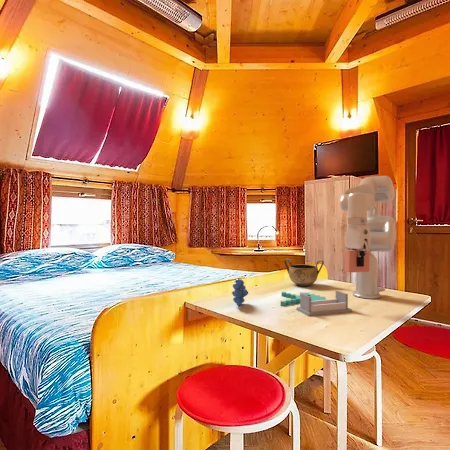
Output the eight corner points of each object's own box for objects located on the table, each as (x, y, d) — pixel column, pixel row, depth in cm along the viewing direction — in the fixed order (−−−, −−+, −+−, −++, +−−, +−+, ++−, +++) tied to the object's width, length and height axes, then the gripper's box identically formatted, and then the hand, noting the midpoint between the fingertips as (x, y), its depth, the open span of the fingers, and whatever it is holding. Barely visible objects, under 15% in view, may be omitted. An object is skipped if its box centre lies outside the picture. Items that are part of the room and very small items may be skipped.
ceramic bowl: (325, 284, 184) (325, 258, 184) (321, 289, 168) (321, 261, 168) (287, 281, 193) (287, 256, 193) (280, 286, 178) (280, 259, 178)
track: (337, 306, 137) (337, 289, 136) (351, 311, 128) (351, 294, 128) (296, 309, 131) (296, 293, 131) (308, 316, 122) (308, 298, 122)
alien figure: (280, 307, 137) (328, 309, 133) (280, 301, 137) (328, 304, 133) (281, 296, 157) (323, 298, 153) (281, 291, 157) (323, 293, 153)
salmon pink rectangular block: (364, 270, 136) (364, 249, 135) (369, 271, 133) (369, 250, 133) (344, 271, 133) (344, 250, 132) (349, 272, 130) (349, 250, 130)
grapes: (243, 310, 130) (243, 281, 130) (228, 308, 133) (228, 280, 133) (252, 303, 141) (252, 276, 141) (238, 301, 144) (238, 275, 144)
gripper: (379, 222, 126) (379, 268, 126) (351, 222, 141) (351, 263, 142) (363, 222, 123) (363, 269, 124) (337, 222, 139) (337, 263, 139)
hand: (357, 265), depth 133 cm, fingers closed on salmon pink rectangular block, 3 cm apart
